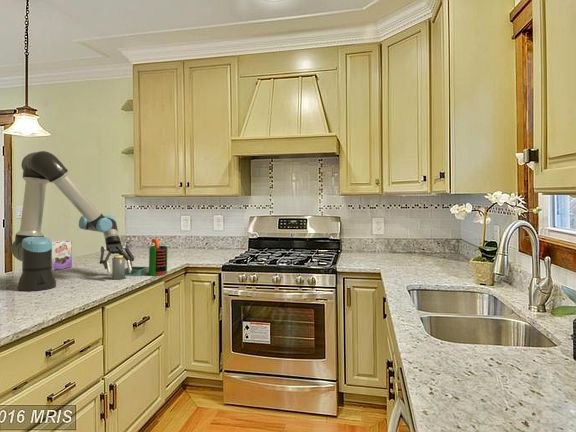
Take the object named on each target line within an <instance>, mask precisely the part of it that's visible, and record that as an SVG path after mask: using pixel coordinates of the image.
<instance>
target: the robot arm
mask: <svg viewBox="0 0 576 432" xmlns="http://www.w3.org/2000/svg"><path fill="white" fill-rule="evenodd" d="M20 165H21V169H22V179H23V180H24V181H25V185H24V193H23V194H24V195H23V202H22V210H21V219H20V227H19V230H18V231H17V232H15V235H14V241H13V243H12V244H11V254H12V256H13V257H14V258H15V259H17V260H18V261H20V262H21V268H22V269H21V270H22V271H21V275H20V277H19V280H18V283H17V290H18V291H22V292H34V291H35V292H36V291H37V292H38V291H45V290H49V289H50V290H51V289H53V288H56V287H57V280H56V277H55V275H54V272H53V271H52V242H53V241H52V239H50V237H46V236H45V235H44V234H43V233H42V224H43V218H44V215H43V214H44V206H45V201H46V200H45V199H46V189H47V185H48V184H49V183H50V184H54V186H56V187H57V188H58V190H59V191H60V192H61V193H62V194H63V196H65V197H66V198H67V200H69V202H70V203H71V204H72V206H73V207H74V208H76V209H77V211H78V212H79V213H80V215H81V216H80V218H79V220H78V228H79V229H81V230H84V231H92V232H99V233H103V238H104V242H105V245H106V246H101V247H100V258H99V264H100V265H101V264H102V265H103V267H104V270H106V271H107V275H108V276H109V275H111V273H112V272H111V271H112V270H111V268H110V263H109V259H110V256H111V255H114V254H117V255H123V257H124V258H125V262H126V265H127V266H126V267H127V268H128V270H129V273H131V270H132V269H131V267H132V266H133V262H134V260H135V256H134V255H133V253H132V251H131V250H130V248H129V244H125V245H123V244H122V241H121V238H120V233H119V229H118V225H117V221H116V218H115V216H112V215H111V214H110V215H109V214H108V215H104V214H103V213H102V212H101V211H100V210H99V209H98V208H97V206H96V205H95V204H94V203H93V202H92V200H91V199H90V198H89V197H88V195H86V193H85V192H84V191H83V189H82V188H81V187H80V186H79V185H78V184H77V182H75V181H74V180H73V178H72V177H71V176H70V174H69V170H68V169H67V167H66V166H65V165H64V164H63V163H62V162H61V160H59V158H58V157H57V156H56V155H54V154H53V153H51V152H49V151H45V150H41V151H37V152H36V151H35V152H30V153H28V154H27V155H25V156H24V157H23V158H22V160H21V164H20ZM105 252H107V255H106V256H105V259H104V255H105Z"/></svg>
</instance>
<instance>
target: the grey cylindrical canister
mask: <svg viewBox="0 0 576 432" xmlns="http://www.w3.org/2000/svg"><path fill="white" fill-rule="evenodd" d="M111 259H112V261H111V262H112V265H111V268H112V269H111V271H112V272H111V280H113V281H121V280H125V279H126V277H125V268H126V266H125V262H126V260H125V258H124V257H123V255H119V254H117V255H114V256H113V257H112V258H111Z"/></svg>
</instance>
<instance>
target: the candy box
mask: <svg viewBox="0 0 576 432" xmlns="http://www.w3.org/2000/svg"><path fill="white" fill-rule="evenodd" d="M51 242H52V272H53V271H60V270H65V269H72V267H73V266H72V265H73V263H72V257H73V253H72V249H73V247H72V246H73V245H72V244H73V242H72V240H55V241H51Z"/></svg>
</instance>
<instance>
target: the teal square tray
mask: <svg viewBox="0 0 576 432" xmlns="http://www.w3.org/2000/svg"><path fill="white" fill-rule="evenodd" d="M131 269H132V270H131V273H129V270H128V267H125V276H126V277H127V276H128V277H129V276H130V277H131V276H132V277H133V276H134V277H142V276H146V275H149V266H133V265H132V267H131Z"/></svg>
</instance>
